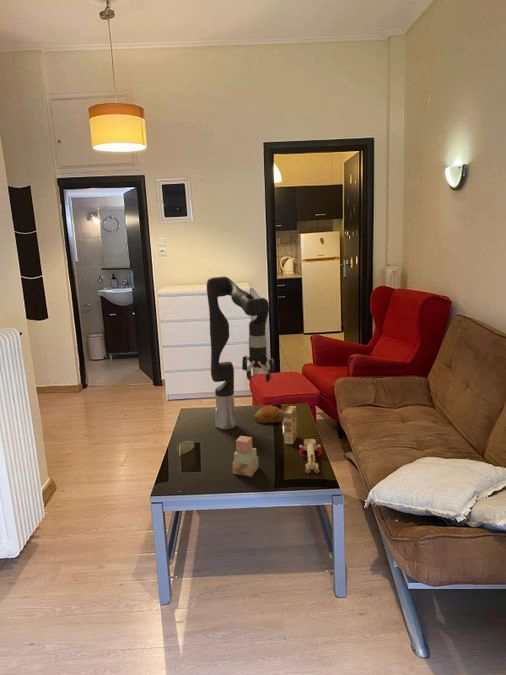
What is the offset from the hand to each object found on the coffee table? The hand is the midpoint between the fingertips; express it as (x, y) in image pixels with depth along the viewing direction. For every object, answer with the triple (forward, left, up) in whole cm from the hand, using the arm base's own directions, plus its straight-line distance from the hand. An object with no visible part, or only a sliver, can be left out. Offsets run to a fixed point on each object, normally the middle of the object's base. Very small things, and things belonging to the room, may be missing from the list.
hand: (258, 380), depth 215 cm
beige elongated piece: (+24, -3, -33) cm, 40 cm away
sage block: (+2, -21, -27) cm, 35 cm away
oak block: (+2, -21, -32) cm, 39 cm away
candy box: (+10, +12, -32) cm, 36 cm away
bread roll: (-8, +34, -33) cm, 48 cm away
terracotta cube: (+1, -21, -23) cm, 31 cm away
